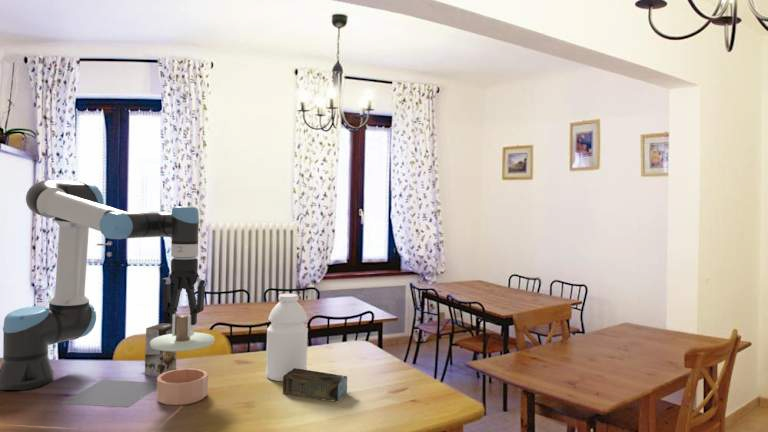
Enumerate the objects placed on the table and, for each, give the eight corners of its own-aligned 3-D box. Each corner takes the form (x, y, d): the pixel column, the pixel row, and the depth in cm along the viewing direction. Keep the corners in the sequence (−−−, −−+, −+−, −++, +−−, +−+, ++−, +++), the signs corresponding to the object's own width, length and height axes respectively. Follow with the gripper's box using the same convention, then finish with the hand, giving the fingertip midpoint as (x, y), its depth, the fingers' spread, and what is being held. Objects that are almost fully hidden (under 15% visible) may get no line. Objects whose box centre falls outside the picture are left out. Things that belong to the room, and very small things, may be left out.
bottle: (259, 380, 171) (261, 297, 171) (274, 367, 185) (276, 290, 184) (299, 383, 169) (301, 299, 169) (311, 370, 183) (314, 292, 182)
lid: (137, 350, 145) (138, 322, 145) (167, 334, 163) (168, 309, 163) (200, 352, 144) (200, 324, 144) (222, 336, 162) (223, 311, 162)
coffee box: (160, 377, 171) (162, 329, 171) (143, 375, 172) (145, 327, 172) (177, 369, 180) (178, 323, 180) (160, 367, 181) (162, 322, 181)
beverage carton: (338, 403, 154) (338, 381, 154) (281, 395, 160) (281, 374, 159) (347, 394, 162) (348, 373, 162) (292, 386, 167) (293, 366, 167)
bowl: (147, 405, 148) (148, 382, 147) (170, 387, 162) (170, 367, 162) (195, 407, 147) (195, 385, 147) (213, 390, 161) (214, 369, 161)
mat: (60, 404, 146) (60, 403, 146) (102, 381, 166) (102, 379, 166) (128, 408, 145) (128, 407, 145) (162, 384, 165) (162, 382, 165)
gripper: (150, 258, 150) (149, 337, 151) (207, 260, 149) (205, 339, 150) (163, 255, 158) (161, 331, 158) (217, 257, 157) (215, 333, 157)
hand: (183, 335), depth 154 cm, fingers closed on lid, 4 cm apart
